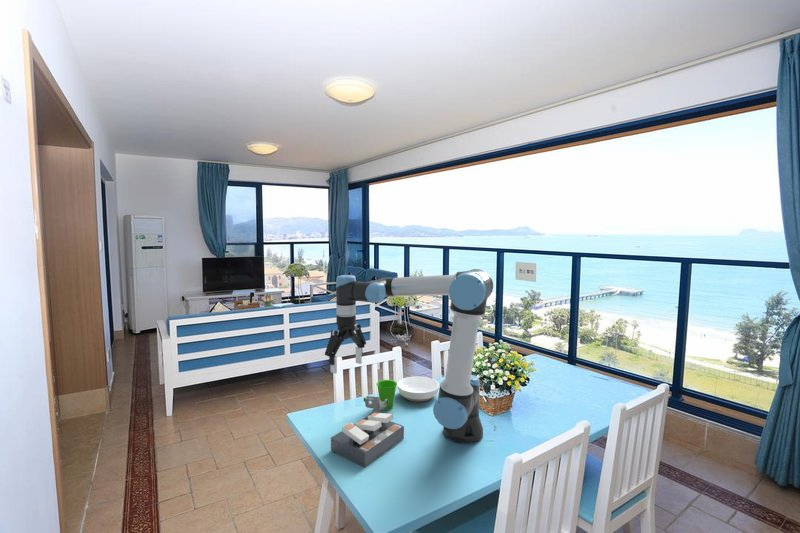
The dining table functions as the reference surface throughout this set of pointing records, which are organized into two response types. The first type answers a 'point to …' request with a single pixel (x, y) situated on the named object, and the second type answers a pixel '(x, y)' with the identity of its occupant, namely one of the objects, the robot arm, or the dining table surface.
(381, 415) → the block
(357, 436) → the block
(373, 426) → the rocker
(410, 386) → the bowl
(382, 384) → the cup
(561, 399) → the dining table surface
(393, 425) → the console
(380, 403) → the mechanical component
